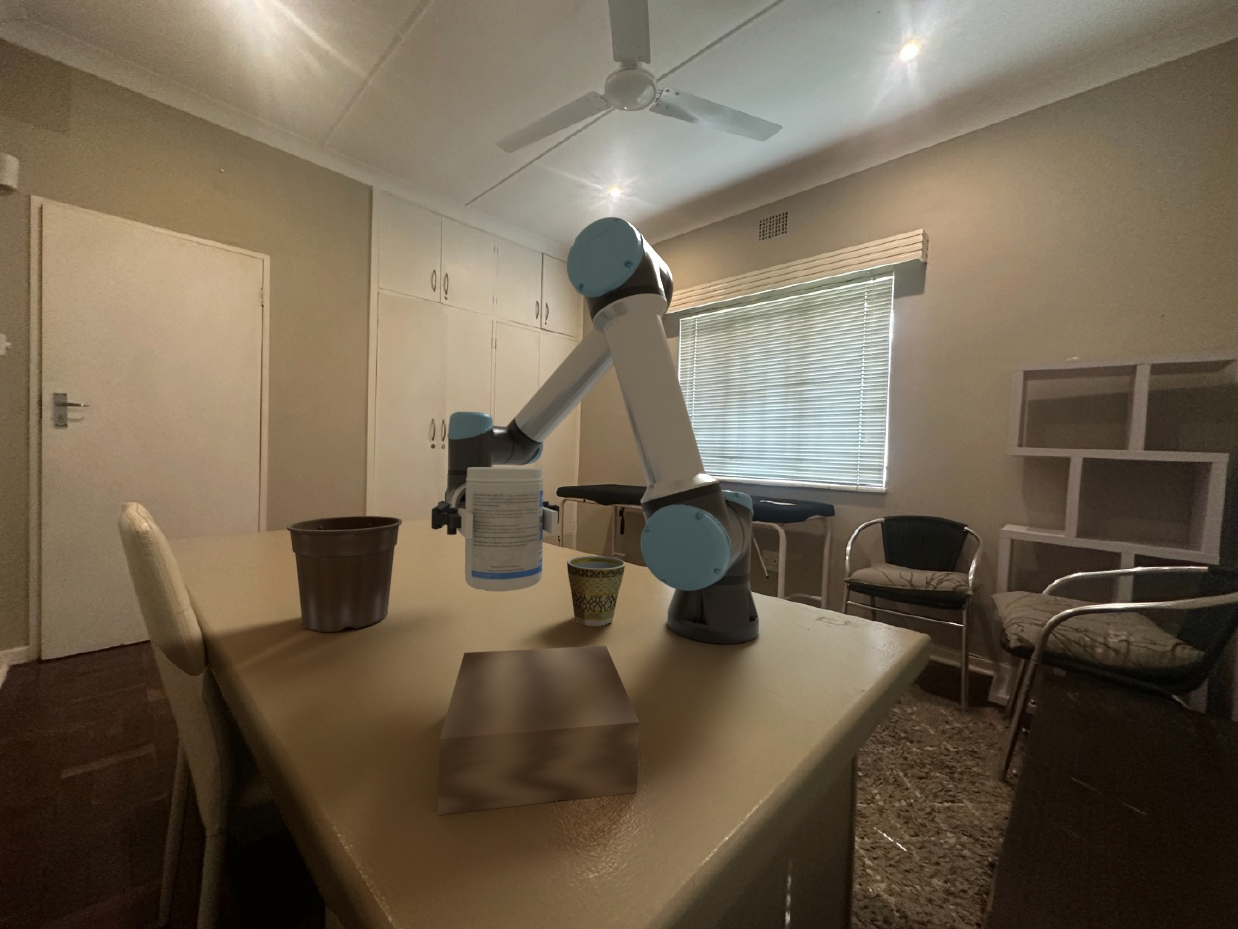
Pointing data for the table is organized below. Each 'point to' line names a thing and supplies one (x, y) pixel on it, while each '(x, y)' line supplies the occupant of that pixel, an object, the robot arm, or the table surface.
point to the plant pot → (344, 570)
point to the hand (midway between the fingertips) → (513, 524)
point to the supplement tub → (504, 528)
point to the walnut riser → (536, 730)
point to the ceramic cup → (595, 588)
